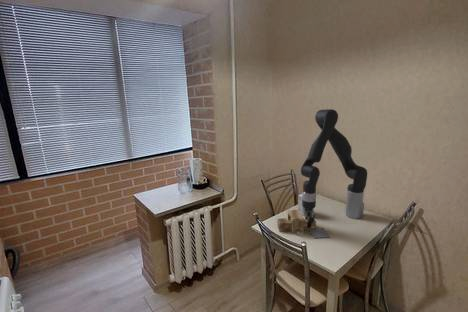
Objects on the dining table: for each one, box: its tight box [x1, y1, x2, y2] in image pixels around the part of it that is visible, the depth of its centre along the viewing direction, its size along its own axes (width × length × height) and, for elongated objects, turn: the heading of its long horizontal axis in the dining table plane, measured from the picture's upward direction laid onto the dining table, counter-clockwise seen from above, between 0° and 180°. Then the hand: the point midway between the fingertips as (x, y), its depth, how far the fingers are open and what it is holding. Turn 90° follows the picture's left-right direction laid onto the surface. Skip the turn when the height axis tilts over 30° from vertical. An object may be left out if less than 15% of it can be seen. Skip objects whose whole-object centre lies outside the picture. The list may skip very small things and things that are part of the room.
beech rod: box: [287, 218, 317, 231], centre depth 147 cm, size 16×4×4 cm, turn 92°
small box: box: [297, 192, 315, 216], centre depth 163 cm, size 8×6×13 cm
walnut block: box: [276, 217, 290, 233], centre depth 147 cm, size 6×6×6 cm
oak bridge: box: [287, 209, 305, 235], centre depth 147 cm, size 6×11×9 cm, turn 2°
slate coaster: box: [308, 227, 331, 239], centre depth 141 cm, size 9×9×1 cm
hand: (308, 225), depth 148 cm, fingers closed on beech rod, 3 cm apart
